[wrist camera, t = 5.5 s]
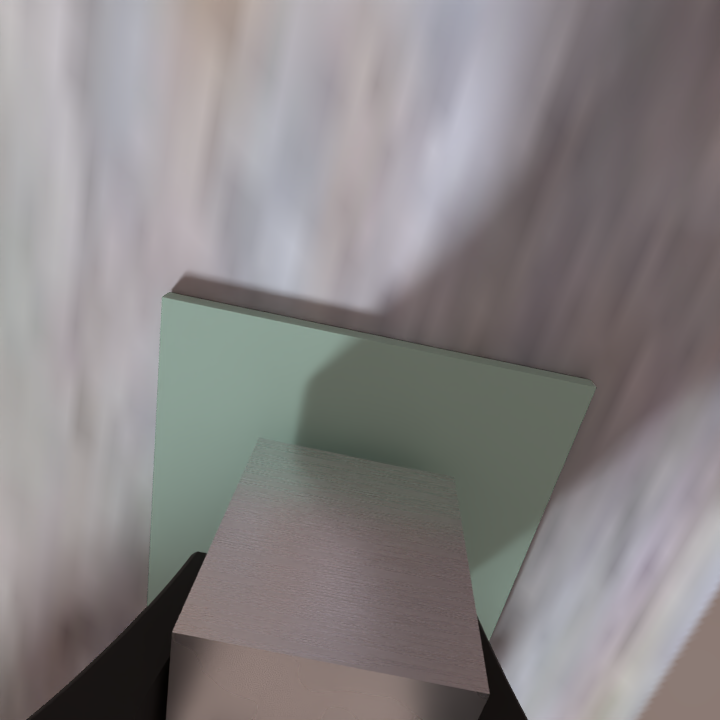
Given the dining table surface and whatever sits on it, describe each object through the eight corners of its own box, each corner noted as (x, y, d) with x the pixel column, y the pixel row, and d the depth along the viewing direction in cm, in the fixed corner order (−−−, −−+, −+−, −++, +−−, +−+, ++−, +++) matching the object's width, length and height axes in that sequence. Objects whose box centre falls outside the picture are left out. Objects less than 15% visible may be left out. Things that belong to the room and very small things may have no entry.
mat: (471, 665, 16) (473, 678, 16) (152, 603, 16) (146, 614, 16) (590, 380, 12) (596, 387, 12) (169, 292, 12) (161, 297, 12)
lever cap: (395, 653, 14) (394, 960, 9) (233, 621, 14) (137, 913, 9) (454, 477, 12) (499, 756, 7) (258, 437, 12) (147, 688, 7)
